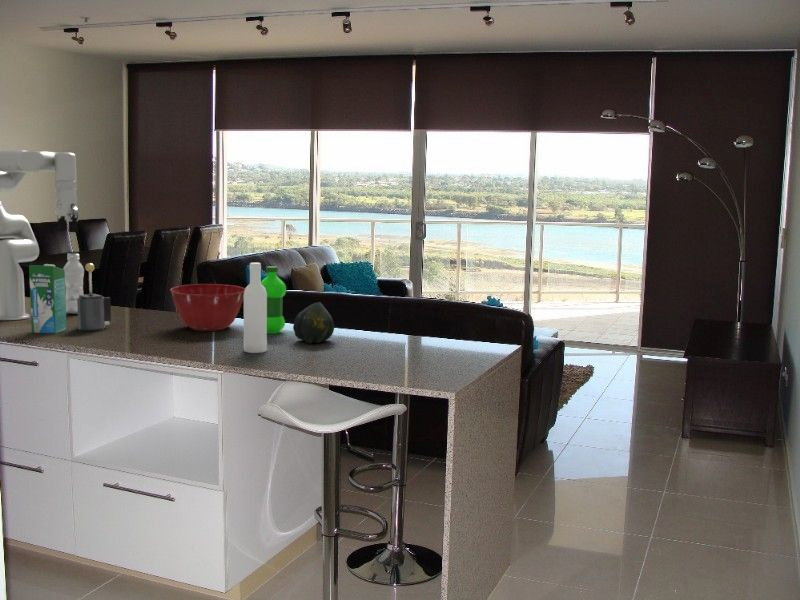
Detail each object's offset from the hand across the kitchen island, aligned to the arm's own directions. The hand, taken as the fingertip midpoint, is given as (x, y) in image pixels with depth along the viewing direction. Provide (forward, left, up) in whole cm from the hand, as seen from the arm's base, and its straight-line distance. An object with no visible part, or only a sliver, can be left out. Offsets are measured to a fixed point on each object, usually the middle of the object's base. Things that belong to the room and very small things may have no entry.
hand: (67, 231), depth 329 cm
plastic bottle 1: (-27, +14, -37) cm, 47 cm away
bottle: (+81, +29, -37) cm, 93 cm away
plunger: (+10, +4, -28) cm, 30 cm away
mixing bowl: (+34, +40, -37) cm, 64 cm away
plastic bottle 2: (+56, +54, -37) cm, 86 cm away
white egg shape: (+2, +11, -36) cm, 38 cm away
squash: (+80, +55, -37) cm, 104 cm away
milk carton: (+5, -10, -37) cm, 38 cm away
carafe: (+10, +5, -36) cm, 38 cm away
